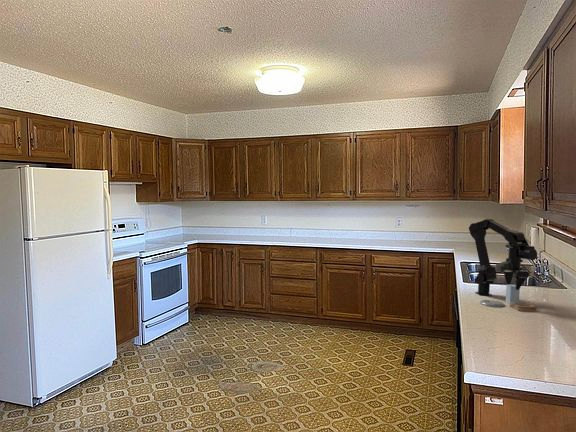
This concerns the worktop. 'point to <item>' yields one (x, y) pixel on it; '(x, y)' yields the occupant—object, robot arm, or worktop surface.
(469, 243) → the worktop surface
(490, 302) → the charcoal trivet
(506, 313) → the worktop surface
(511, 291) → the slate block
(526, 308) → the walnut bay
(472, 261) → the worktop surface
